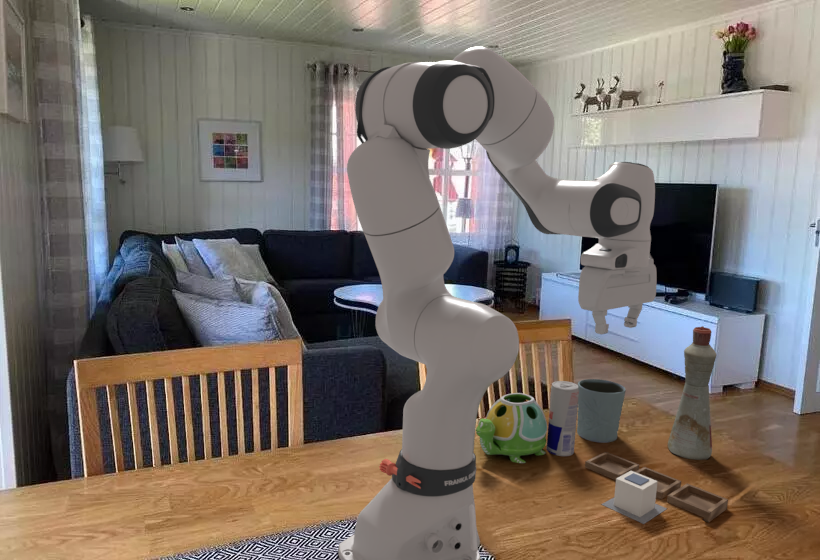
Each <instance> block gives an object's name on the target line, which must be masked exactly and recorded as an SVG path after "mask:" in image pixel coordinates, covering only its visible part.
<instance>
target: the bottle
mask: <svg viewBox="0 0 820 560" xmlns="http://www.w3.org/2000/svg"><path fill="white" fill-rule="evenodd" d="M711 338H712V330H711V328H708V327H704V326H703V325H702V326H697V327H694V328H693V329H692V342H691V344H689V345H688V346H686V347H685V349H684V350H683V357H684V373H685V375H684V377H685V378H684V379H685V382H684V386H683V389H682V394H681V398H680V401H679V405H678V408H677V410H676V414H675V419H674V422H673V424H672V428H671V431H670V434H669V436H668V437H669V438H668V440H667V447H668V448H667V449H668V450H669V451H670V452H671V453H672V454H674V455H676V456H678V457H680V458H684V459H688V460H689V459H690V460H695V461H697V460H698V461H701V460H708V459H709V458H710V457H711V456H712V453H713V439H712V438H713V437H712V423H711V408H710V407H711V406H710V404H711V403H710V385H709V384H710V381H711V376H712V374H713V370H714V367H715V362H716V359H717V353H716V351H715V349H714V348H713V347H712V346H711V344H710V342H711Z"/></svg>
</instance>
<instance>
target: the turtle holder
mask: <svg viewBox="0 0 820 560" xmlns="http://www.w3.org/2000/svg"><path fill="white" fill-rule="evenodd" d="M477 424H478V426H476V428H475V434H476V435H477V437H479V444H480V448H481V450H482V451H483V452H484V453H485V454H486V455H488V456H492V455H503V456H508V457H509V460H510V462H512V463H515V464H526V463H527V462H526V460H524V459H522V458H521V456H529V455H533V454H534V455H535V456H543V455H545V454H546V453H547V452H546V450H544V448H545V447H546V446H547V434H548V422H547V419H546V415H545V413H544V411H543V408H542V407H541V406H540V404H539V403H538V402H537V401H536V400H535V398H534V397H533V396H532V395H530V394H526V393H522V392H514V393H513V392H512V393H508V394H504V395H502V396H500V398H499V399H497V400H496V401H495V402H494V403H493V404H492V405H491V407H490V408H489V410H488V411H487V414H486V416H485V418H480V419H479V421H478V423H477Z"/></svg>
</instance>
